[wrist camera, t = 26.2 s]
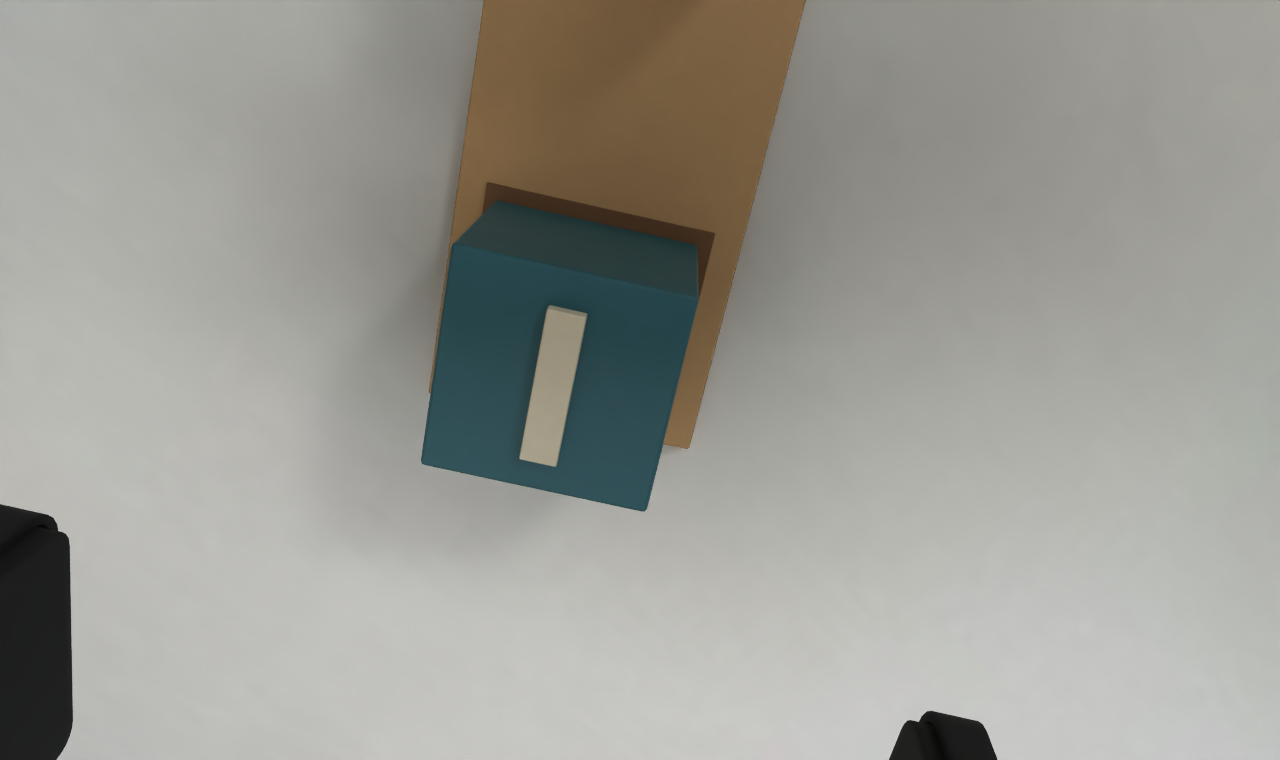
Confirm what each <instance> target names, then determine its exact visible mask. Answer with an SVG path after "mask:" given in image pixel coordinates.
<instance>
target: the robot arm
mask: <svg viewBox="0 0 1280 760" xmlns="http://www.w3.org/2000/svg"><path fill="white" fill-rule="evenodd" d="M72 722H73V706H72V650H71V594H70V545H69V539H68V537H67V535H66V534H64V533H63V532H59V531H58V528H57V523H56V522H55V520H54V518H53V517H51V516H49V515H46V514H42V513H37V512H33V511H28V510H23V509H19V508H14V507H10V506H5V505H1V504H0V760H56V759H57V758H58V756H59V755H60V754H61V752H62V751H63V749H64V747H65V745H66V743H67V741H68V739H69V736H70V733H71V729H72ZM889 760H997V757H996V755H995V752H994V749H993V747H992V744H991V742H990V739H989V736H988V734H987V731H986V729H985V728H984V726H983V724H981V723H980V722H978V721H974V720H970V719H965V718H961V717H956V716H952V715H947V714H943V713H938V712H934V711H927V712H926V713H925V714H924V715H923V716H922V717H921V719H920V721H919V722H916V721H912V720H909V721H907V722H906V723H905V724H904V725H903V727H902V729H901V732H900V734H899V737H898V739H897V741H896V744H895V746H894V749H893V751H892V754H891V756H890V759H889Z"/></svg>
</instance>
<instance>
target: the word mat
mask: <svg viewBox="0 0 1280 760" xmlns="http://www.w3.org/2000/svg"><path fill="white" fill-rule="evenodd" d="M804 4H805V0H484V4H483V11H482V18H481V25H480V32H479V39H478V46H477V54H476V61H475V68H474V75H473V82H472V89H471V96H470V103H469V110H468V117H467V124H466V132H465V139H464V146H463V153H462V160H461V167H460V174H459V181H458V188H457V195H456V202H455V210H454V217H453V224H452V231H451V238H450V245H449V252H448V259H447V266H446V273H445V280H444V288H443V295H442V302H441V309H440V316H439V323H438V330H437V337H436V344H435V351H434V358H433V366H432V373H431V380H430V387H429V393H431V387H432V380H433V373H434V366H435V358H436V351H437V344H438V337H439V330H440V323H441V316H442V309H443V302H444V295H445V288H446V281H447V274H448V267H449V260H450V253H451V246H452V245H453V243H454V242H455V241H456V240H457V239H458V238H459V237H460V236H461V235H462V234H463V233H464V232H465V231H466V230H467V229H468V228H469V227H470V226H471V225H472V224H473V223H474V222H475V221H476V220H477V219H478V218H479V217H480V216H481V215H482V214H483V213H484V212H485V211H486V210H487V209H488V208H489V207H490V206H491V205H492V204H493V203H494V202H495V201H502V202H507V203H511V204H515V205H520V206H524V207H529V208H533V209H538V210H542V211H547V212H551V213H556V214H560V215H565V216H569V217H574V218H578V219H583V220H587V221H591V222H596V223H600V224H605V225H609V226H614V227H618V228H623V229H627V230H632V231H636V232H641V233H645V234H650V235H654V236H659V237H663V238H668V239H672V240H676V241H681V242H685V243H690V244H694V245H696V246H697V250H698V296H699V302H698V306H697V310H696V314H695V318H694V322H693V326H692V330H691V334H690V338H689V342H688V346H687V350H686V354H685V358H684V362H683V366H682V370H681V374H680V378H679V382H678V386H677V390H676V394H675V398H674V402H673V406H672V410H671V414H670V418H669V422H668V426H667V430H666V434H665V438H664V442H663V444H667V445H671V446H676V447H680V448H685V449H688V448H689V446H690V442H691V438H692V434H693V431H694V427H695V423H696V419H697V415H698V411H699V408H700V404H701V400H702V396H703V392H704V388H705V385H706V381H707V377H708V373H709V369H710V365H711V361H712V358H713V354H714V350H715V346H716V342H717V338H718V335H719V331H720V327H721V323H722V319H723V315H724V312H725V308H726V304H727V300H728V296H729V292H730V289H731V285H732V281H733V277H734V273H735V269H736V265H737V262H738V258H739V254H740V250H741V246H742V242H743V239H744V235H745V231H746V227H747V223H748V219H749V216H750V212H751V208H752V204H753V200H754V196H755V192H756V189H757V185H758V181H759V177H760V173H761V169H762V166H763V162H764V158H765V154H766V150H767V146H768V143H769V139H770V135H771V131H772V127H773V123H774V119H775V116H776V112H777V108H778V104H779V100H780V96H781V93H782V89H783V85H784V81H785V77H786V73H787V70H788V66H789V62H790V58H791V54H792V50H793V47H794V43H795V39H796V35H797V31H798V27H799V23H800V20H801V16H802V12H803V8H804Z"/></svg>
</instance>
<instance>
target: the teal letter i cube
mask: <svg viewBox="0 0 1280 760" xmlns="http://www.w3.org/2000/svg"><path fill="white" fill-rule="evenodd" d="M698 302H699V296H698V250H697V246H696V245H694V244H690V243H685V242H681V241H676V240H672V239H668V238H663V237H659V236H654V235H650V234H645V233H641V232H636V231H632V230H627V229H623V228H618V227H614V226H609V225H605V224H600V223H596V222H591V221H587V220H583V219H578V218H574V217H569V216H565V215H560V214H556V213H551V212H547V211H542V210H538V209H533V208H529V207H524V206H520V205H515V204H511V203H507V202H502V201H495V202H494V203H493V204H492V205H491V206H490V207H489V208H488V209H487V210H486V211H485V212H484V213H483V214H482V215H481V216H480V217H479V218H478V219H477V220H476V221H475V222H474V223H473V224H472V225H471V226H470V227H469V228H468V229H467V230H466V231H465V232H464V233H463V234H462V235H461V236H460V237H459V238H458V239H457V240H456V241H455V242H454V243H453V245H452V246H451V253H450V260H449V267H448V274H447V281H446V288H445V295H444V302H443V309H442V316H441V323H440V330H439V337H438V344H437V351H436V358H435V366H434V373H433V380H432V387H431V394H430V401H429V408H428V415H427V422H426V429H425V436H424V443H423V450H422V457H421V462H422V464H424V465H428V466H433V467H437V468H442V469H447V470H451V471H456V472H461V473H465V474H470V475H475V476H479V477H484V478H489V479H493V480H498V481H503V482H507V483H512V484H517V485H521V486H526V487H531V488H535V489H540V490H545V491H549V492H554V493H559V494H563V495H568V496H573V497H577V498H582V499H587V500H591V501H596V502H601V503H605V504H610V505H615V506H619V507H624V508H629V509H633V510H638V511H645V510H646V509H647V507H648V503H649V499H650V495H651V491H652V487H653V483H654V479H655V475H656V471H657V467H658V463H659V459H660V455H661V451H662V446H663V442H664V438H665V434H666V430H667V426H668V422H669V418H670V414H671V410H672V406H673V402H674V398H675V394H676V390H677V386H678V382H679V378H680V374H681V370H682V366H683V362H684V358H685V354H686V350H687V346H688V342H689V338H690V334H691V330H692V326H693V322H694V318H695V314H696V310H697V306H698Z"/></svg>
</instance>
